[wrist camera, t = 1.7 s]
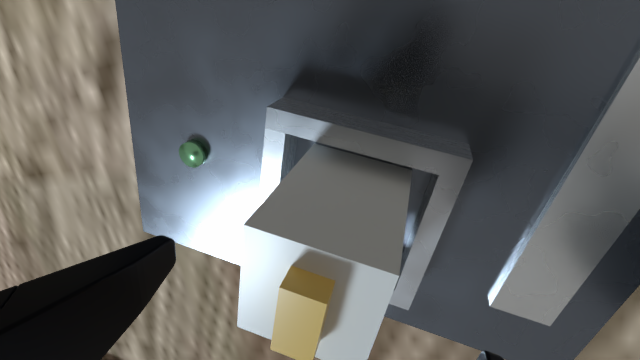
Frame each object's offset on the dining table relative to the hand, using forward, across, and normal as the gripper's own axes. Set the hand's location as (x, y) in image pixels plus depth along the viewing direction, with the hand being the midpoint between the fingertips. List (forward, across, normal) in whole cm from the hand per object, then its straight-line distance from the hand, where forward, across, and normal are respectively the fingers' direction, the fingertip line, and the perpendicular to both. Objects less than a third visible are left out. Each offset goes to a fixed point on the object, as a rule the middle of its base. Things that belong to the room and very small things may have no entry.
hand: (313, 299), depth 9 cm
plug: (+6, 0, 0) cm, 6 cm away
